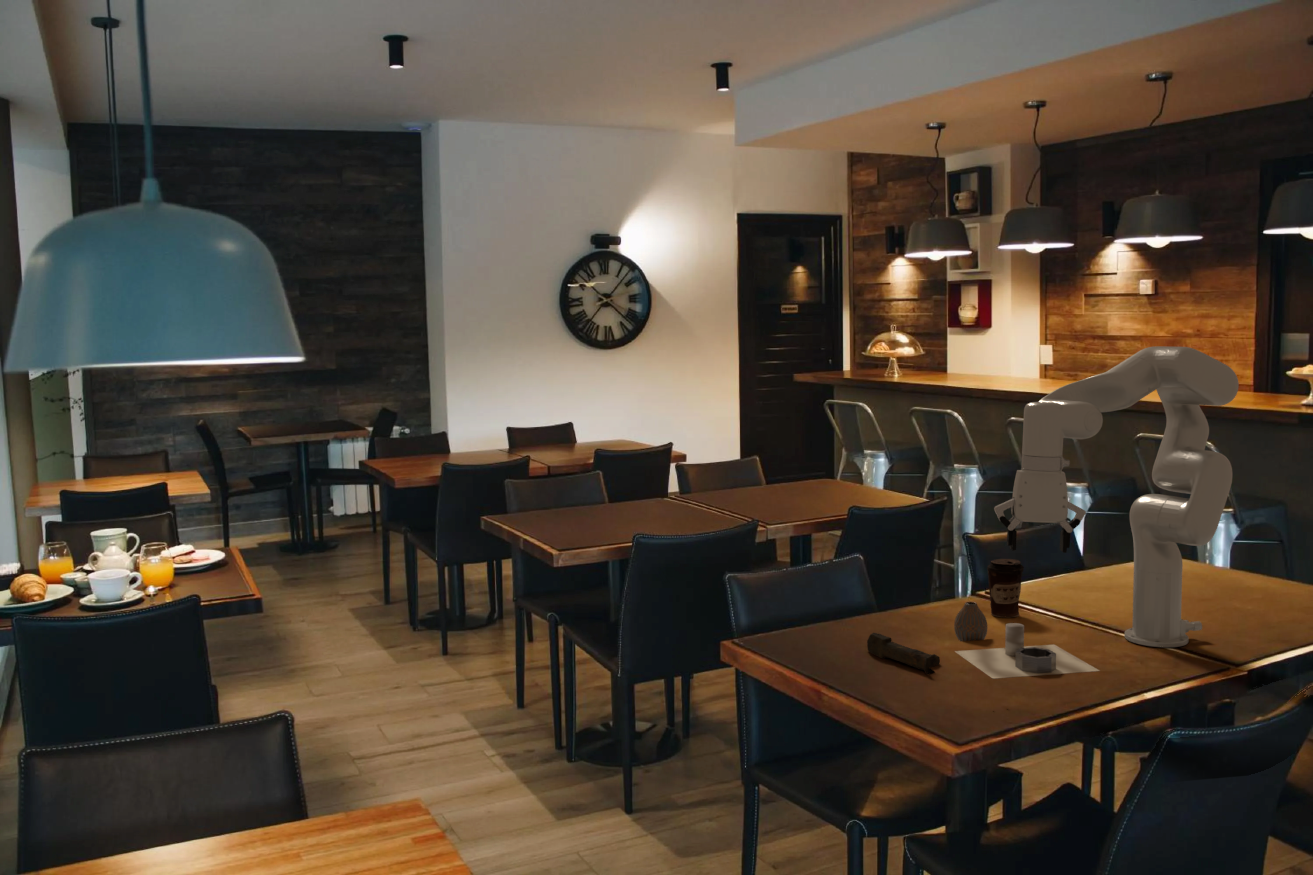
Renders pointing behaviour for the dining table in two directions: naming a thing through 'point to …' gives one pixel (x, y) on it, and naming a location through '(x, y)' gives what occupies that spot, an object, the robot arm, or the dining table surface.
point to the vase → (970, 623)
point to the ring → (1035, 660)
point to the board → (1008, 663)
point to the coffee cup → (1005, 586)
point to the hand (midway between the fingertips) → (1037, 550)
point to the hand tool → (901, 653)
